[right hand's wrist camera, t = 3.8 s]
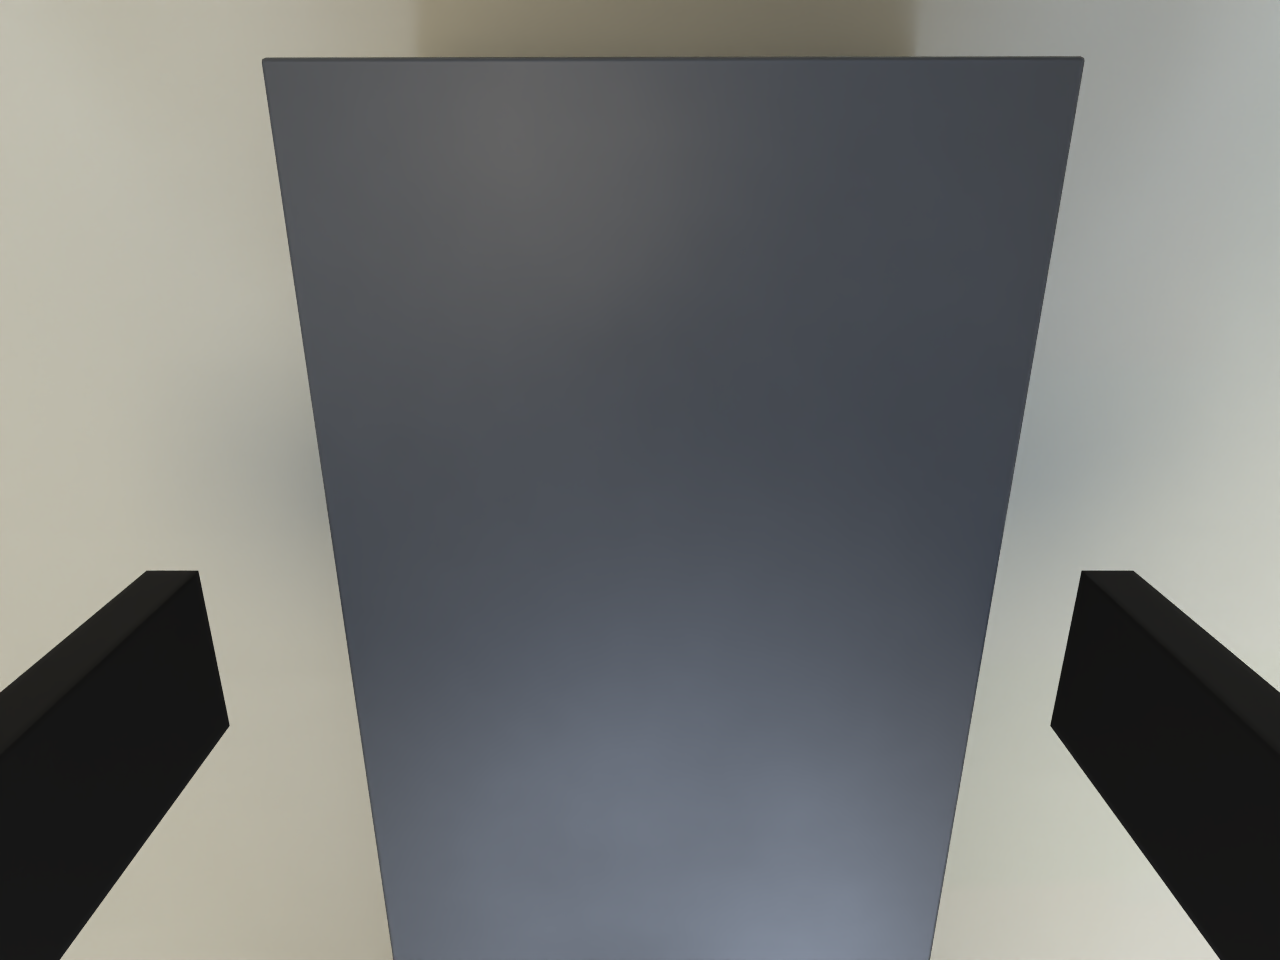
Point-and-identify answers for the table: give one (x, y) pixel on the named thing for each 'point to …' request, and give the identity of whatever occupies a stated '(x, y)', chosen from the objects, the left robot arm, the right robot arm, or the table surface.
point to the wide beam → (667, 476)
